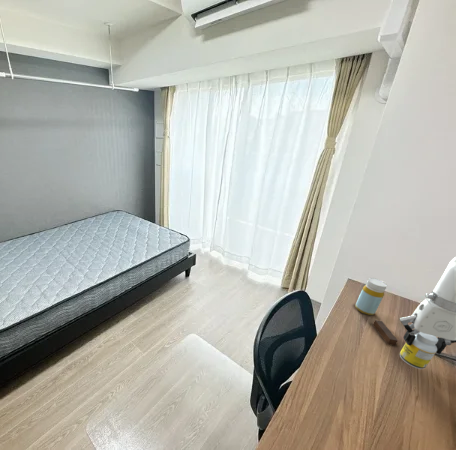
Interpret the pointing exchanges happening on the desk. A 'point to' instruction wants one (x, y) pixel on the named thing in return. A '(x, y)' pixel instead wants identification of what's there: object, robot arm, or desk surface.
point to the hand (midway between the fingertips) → (421, 345)
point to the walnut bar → (385, 332)
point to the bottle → (371, 296)
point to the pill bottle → (419, 350)
